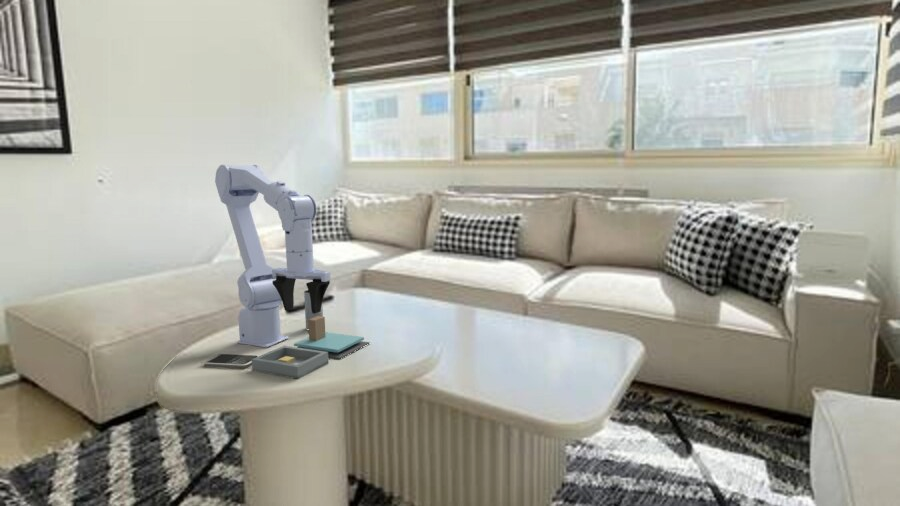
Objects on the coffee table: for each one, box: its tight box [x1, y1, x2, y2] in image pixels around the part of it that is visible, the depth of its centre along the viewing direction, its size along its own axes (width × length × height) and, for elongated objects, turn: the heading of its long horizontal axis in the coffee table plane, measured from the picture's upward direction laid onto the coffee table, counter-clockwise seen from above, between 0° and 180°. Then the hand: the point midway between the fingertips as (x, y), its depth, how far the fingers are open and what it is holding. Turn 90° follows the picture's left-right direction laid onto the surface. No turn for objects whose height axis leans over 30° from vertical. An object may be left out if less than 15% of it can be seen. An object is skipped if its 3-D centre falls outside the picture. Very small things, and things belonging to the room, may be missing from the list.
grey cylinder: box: [303, 289, 324, 329], centre depth 145 cm, size 4×4×10 cm
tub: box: [251, 345, 329, 380], centre depth 116 cm, size 12×10×2 cm
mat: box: [296, 340, 371, 360], centre depth 129 cm, size 14×12×1 cm
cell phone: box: [200, 353, 258, 370], centre depth 120 cm, size 6×11×1 cm, turn 80°
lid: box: [293, 316, 365, 353], centre depth 129 cm, size 12×10×6 cm
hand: (302, 310), depth 122 cm, fingers open, 7 cm apart
